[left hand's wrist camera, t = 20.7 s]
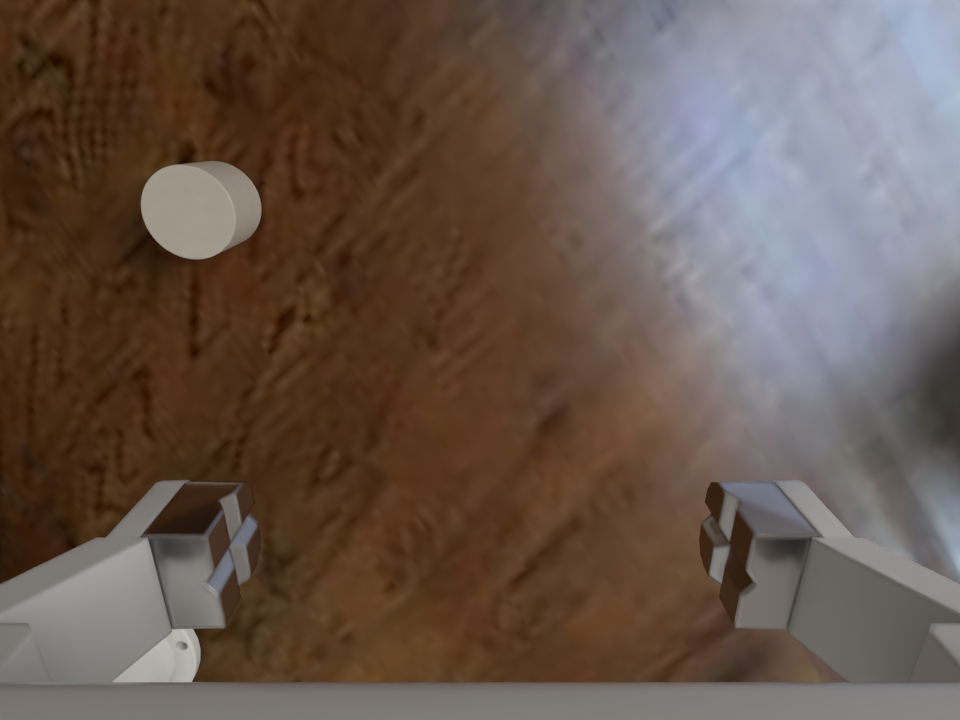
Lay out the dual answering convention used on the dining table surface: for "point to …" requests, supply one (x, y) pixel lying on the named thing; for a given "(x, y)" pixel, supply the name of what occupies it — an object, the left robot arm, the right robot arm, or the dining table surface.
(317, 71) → the dining table surface
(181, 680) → the right robot arm
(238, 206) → the canister
